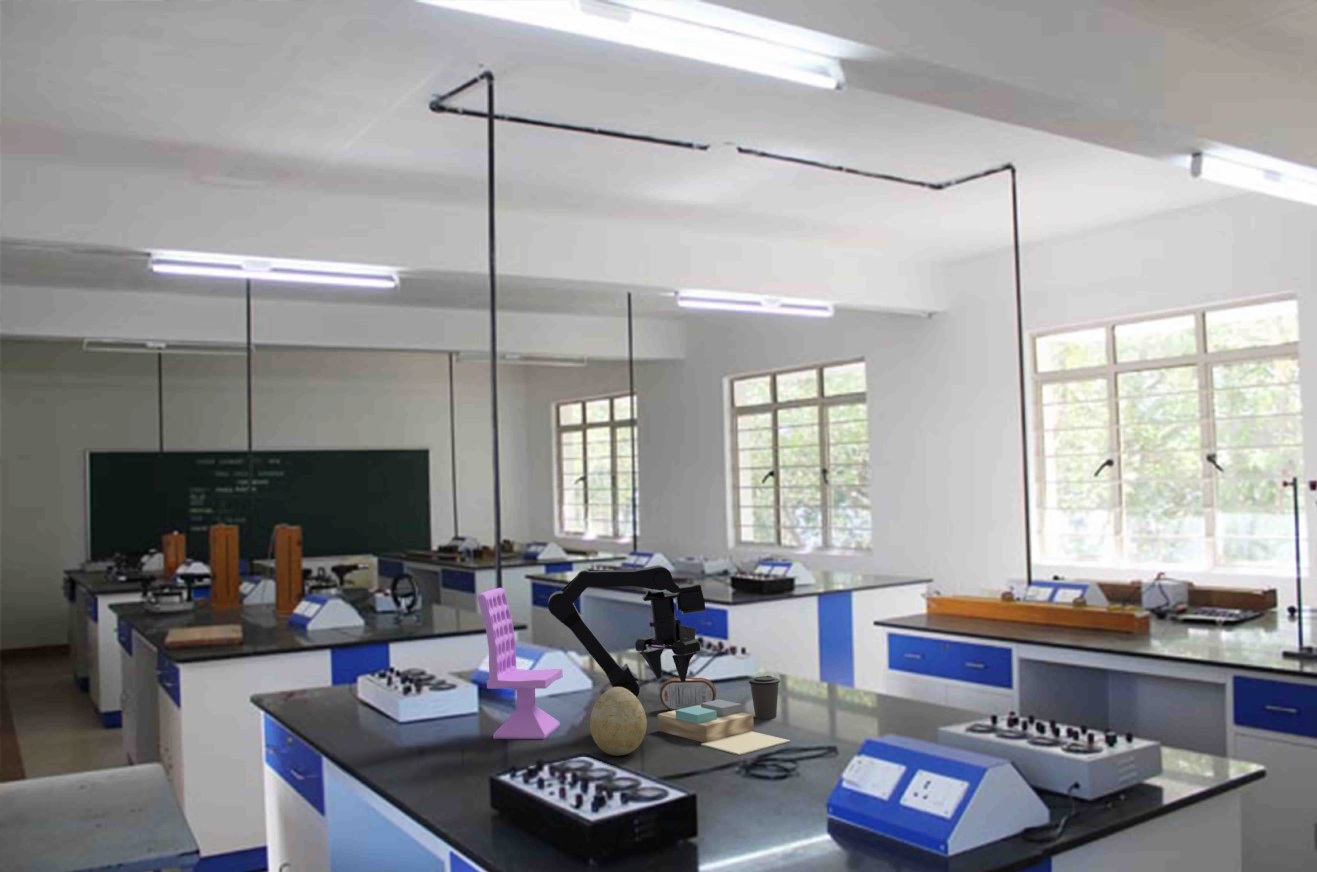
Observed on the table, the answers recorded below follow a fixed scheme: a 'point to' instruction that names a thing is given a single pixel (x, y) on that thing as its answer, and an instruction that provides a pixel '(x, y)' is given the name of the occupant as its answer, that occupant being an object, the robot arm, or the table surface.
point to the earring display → (514, 672)
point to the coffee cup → (765, 696)
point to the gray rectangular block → (723, 707)
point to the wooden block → (706, 726)
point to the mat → (745, 743)
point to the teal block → (696, 714)
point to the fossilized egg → (618, 722)
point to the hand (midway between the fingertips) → (671, 679)
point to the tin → (686, 692)
